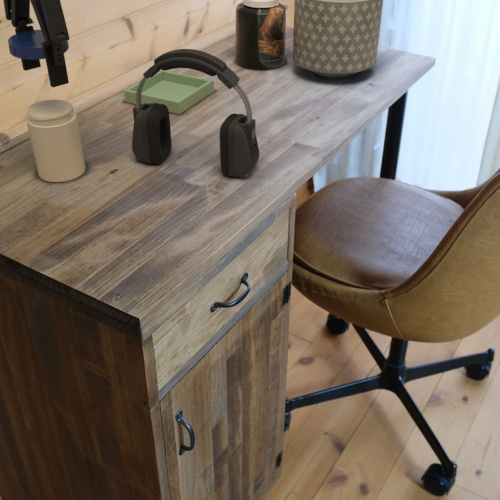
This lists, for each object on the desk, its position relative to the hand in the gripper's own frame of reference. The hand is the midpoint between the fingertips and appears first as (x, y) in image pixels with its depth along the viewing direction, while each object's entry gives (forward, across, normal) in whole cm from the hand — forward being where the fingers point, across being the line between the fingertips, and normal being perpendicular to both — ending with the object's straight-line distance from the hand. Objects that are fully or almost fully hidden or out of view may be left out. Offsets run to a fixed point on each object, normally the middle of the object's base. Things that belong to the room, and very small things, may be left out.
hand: (45, 76), depth 102 cm
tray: (+17, -14, +33) cm, 39 cm away
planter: (+17, -1, +70) cm, 72 cm away
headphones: (+17, +14, +18) cm, 28 cm away
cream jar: (+17, 0, 0) cm, 17 cm away
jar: (+17, -17, +61) cm, 66 cm away
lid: (-6, 0, 0) cm, 6 cm away
